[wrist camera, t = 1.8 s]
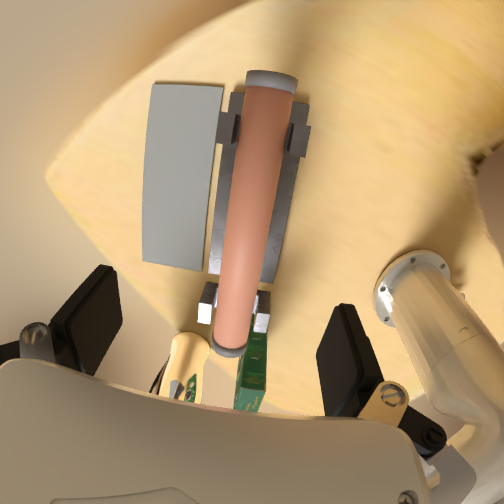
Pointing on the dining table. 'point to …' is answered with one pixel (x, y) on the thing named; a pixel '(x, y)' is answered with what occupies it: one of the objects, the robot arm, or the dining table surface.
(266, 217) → the rod
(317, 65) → the dining table surface
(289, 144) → the hook stand
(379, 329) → the dining table surface
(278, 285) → the dining table surface
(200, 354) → the beer glass
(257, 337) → the coffee box
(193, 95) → the mat
